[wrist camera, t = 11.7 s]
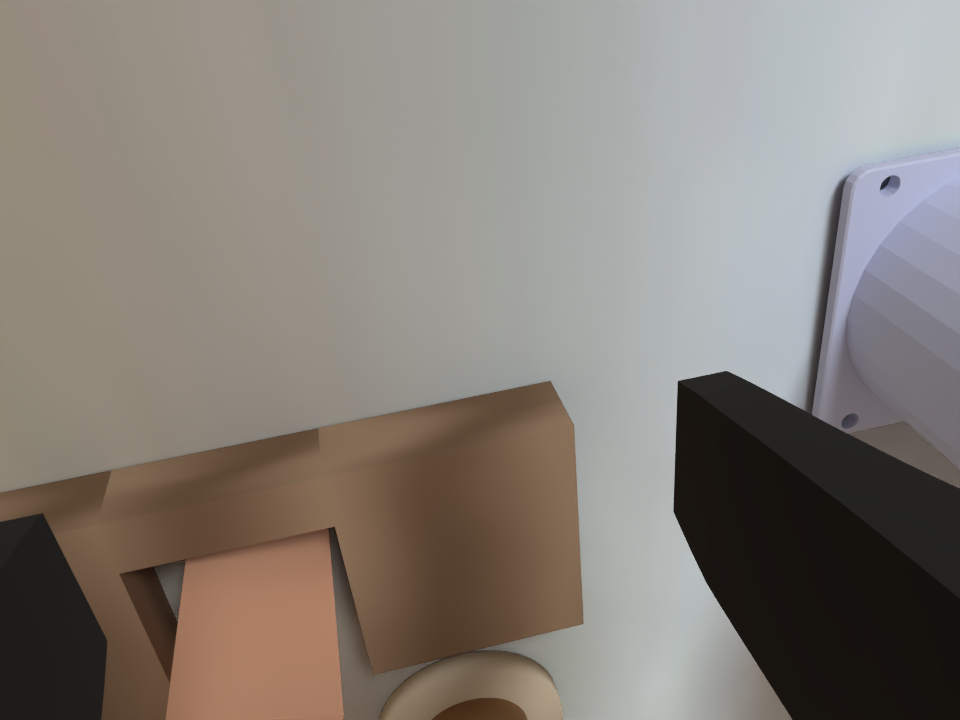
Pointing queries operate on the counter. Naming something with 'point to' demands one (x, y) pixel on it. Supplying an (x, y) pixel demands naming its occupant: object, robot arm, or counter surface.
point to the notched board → (342, 530)
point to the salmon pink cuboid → (258, 634)
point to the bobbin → (477, 690)
